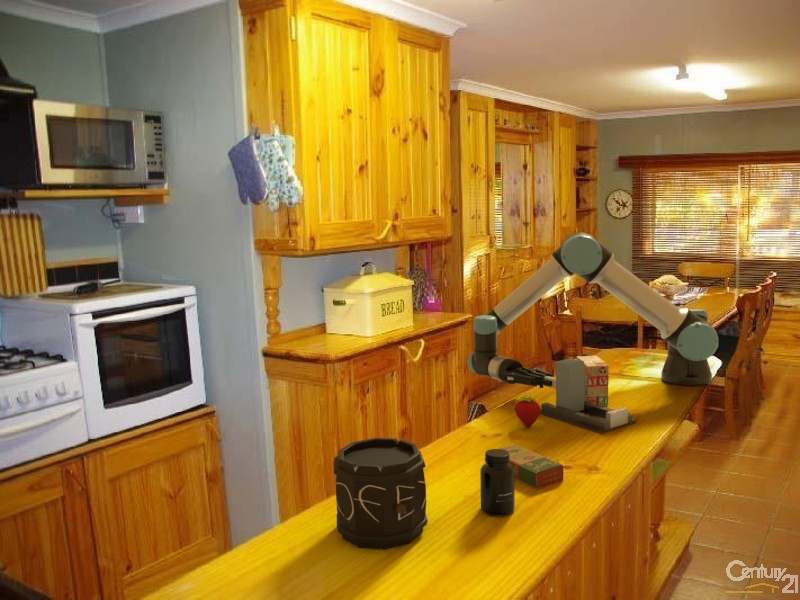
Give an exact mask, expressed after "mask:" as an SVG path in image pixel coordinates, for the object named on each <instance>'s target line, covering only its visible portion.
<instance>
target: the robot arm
mask: <svg viewBox="0 0 800 600" xmlns="http://www.w3.org/2000/svg"><path fill="white" fill-rule="evenodd" d="M574 275H577V276H579V278H581V279H582V280H584V281H585V282H586V283H588V284H598V285H599V286H600V287H601V288H603V289H604V290H606V291H607V293H610V294H611V295H612V296H614V297H615V298H616V299H618V300H619V301H621V303H623V304H624V305H625V306H626V307H627V308H628V307H629V309H631V310H632V311H634V312H635V313H636V314H638V315H639V316H640V317H641V318H643V319H644V320H645V321H647V322H648V323H650V324H651V325H652V326H653V327H655V328H656V329H657V330H659V332H660V336H661V337H660V338H661V339H662V340H664V341H665V342H666V343H667V356H666V359H665V362H664V365H663V366H662V370H661V380H662V381H664V382H665V383H666V382H667V383H669V384H672V385H679V386H703V385H708V384H711V383H712V382H713V373H712V371H711V367H710V364H709V361H708V359H709V358H710V357H712V356H713V355H714V354H715V353H716V351H717V349H718V347H719V342H720V341H719V336H718V332H717V330H716V329H715V328H714V327H713V326H712V325H711V324H710V323H708V320H709V316H708V311H707V310H705V309H692V308H689V309H688V307H683V308H679V307H677V306H676V305H675V304H674V303H672V302H671V301H669V300H668V299H667V298H666V297H664V296H663V295H662V294H661V293H659V292H657V291H656V290H655V289H653V288H652V287H651V286H650V285H648V284H647V283H646V282H645V281H643V280H642V279H640V278H639V277H637V276H636V275H635V274H634V273H632V272H631V271H630V270H628V269H627V268H625V267H624V266H623V265H621V264H620V263H619V262H617V261H616V260H615V255H614V253H613V252H612V251H611V250H609V249H608V248H607V247H606V246H604V245H603V244H602V243H601V242H599V241H598V240H596V238H595V237H594V236H593V235H592V234H590V233H587V232H581V231H580V232H579V231H578V232H574V233H572V234H570V235H569V236H567V237H566V238H565V240H564V241H563V242H562V243H561V245H560V246H559V247H558V248H557V249H556V250H555V251H554V252H552V253H551V254H550V259H549V260H548V261H546V262H545V263H543V265H542V266H541V267H540V268H538V269H537V270H536V271H535V272H534V273H533V274H531V276H529V277H528V278H527V279H526V280H525V281H523V283H521V284H519V286H517V288H515V289H514V290H513V291H512V292H510V294H509V295H507V296H506V297H505V298H504V299H503V300H502V301H500V302H499V303H498V304H497V305H496V306H495V307H493V308H492V309H491V310H490V311H488V313H486V314H484V315H482V314H481V315H477V316H475V317H474V318H473V326H472V329H473V345H474V346H473V351H472V352H471V353H470V354H469V356H468V358H467V367H468V369H469V371H471V372H472V373H474V374H477V375H478V376H481V377H486V378H490V379H493V380H496V381H498V382H499V383H501V382H504V383H505V384H510V385H515V384H521V385H525V386H531V387H537V386H539V388H540V389H544V387H548V388H551V389H553V390H556V377H554V376H553V373H550V372H549V371H546V370H543V369H541V368H540V367H538V366H535V367H534V368H533V369H532V368H529V367H527V366H524V365H522V363H521V362H520V361H519V360H516V359H513V358H510V357H506V356H501V355H498V335H499V334H500V333H501V332H502V331H503V330H504V329H506V328H507V327H508V326H509V325H511V323H513V322H514V321H515V320H516V319H518V318H519V316H521V315H522V314H523V313H525V312H526V311H527V310H528V309H530V308H531V306H533V305H534V304H536V303H537V302H538V301H539V300H540V299H541V298H542V297H544V296H545V295H546V294H547V293H548V292H550V291H552V289H553V288H555V287H556V286H557V285H558V284H560V282H561V281H563V280H564V279H565V278H566V277H573V276H574Z"/></svg>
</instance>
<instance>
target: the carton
mask: <svg viewBox="0 0 800 600" xmlns="http://www.w3.org/2000/svg"><path fill="white" fill-rule="evenodd" d="M498 449H503V450H506V451H508V452H509V459H510V462H509V464H510V465H512V467H513V468H514V471H515V481H517V482H520V483H522V484H523V485H526V486H527V487H530V488H532V489H534V490H539V489H543V488H545V487H547V486H550V485H554V484H556V483H560V482H562V481H564V465H563V464H562V463H561V462H558V461H555V460H552V459H550V458H548V457H546V456H544V455H541V454H539V453H536V452H535V451H532V450H529V449H527V448H525V447H523V446H520V445H518V444H511V445H505V446H503V447H500V448H498Z"/></svg>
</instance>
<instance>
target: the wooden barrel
mask: <svg viewBox="0 0 800 600" xmlns="http://www.w3.org/2000/svg"><path fill="white" fill-rule="evenodd" d="M332 464H333V474H334V475H335V501H336V502H335V503H336V531H337V532H338V533H339V534H342V539H343V540H344V541H346V542H348V543H350V544H352V545H354V546H356V547H357V548H359V549H370V550H384V551H385V550H386V551H387V550H389V549H394V548H397V547H401V546H406V545H409V544H412V542H413V541H414V540H416V539H417V537H419V536H420V535H421V534H423V531H424V527H425V526H427V524H428V517H427V514H426V509H427V487H426V479H425V477H426V476H425V472H424V468H426V462H425V460H424V457H423V454H422V451H421V450H419V448H418V445H417V444H416V443H413V442H410V441H408V440H405V439H401V440H398V439H397V438H393V437H392V438H391V437H390V438H389V437H372V438H367V439H362V440H357V441H352V442H350V443H349V444H347V445H345V446H343V447H342V448H340V449H339V450H338V451H337V456H335V457H334V458H333V463H332Z"/></svg>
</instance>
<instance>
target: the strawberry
mask: <svg viewBox="0 0 800 600" xmlns="http://www.w3.org/2000/svg"><path fill="white" fill-rule="evenodd" d="M524 395H525V397H524V396H520V398H521V399H517V400H516V402H515V403H514V407H513V409H514V412H515V415H516V417H517V418H518V419H519V421H520V422H521V423H522V424H523V425H524V427H525V428H527V429H530V428H531V427H532V426H533V424H534V423H536V421H537V420H538V418H540V415H541V414H540V411H541V405H540V404H539V403H538V401H537V400H536V398H535V397H534V398H533V397H532V396H528V397H527V395H526V392H525V391H524ZM536 401H537V402H536Z"/></svg>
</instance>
